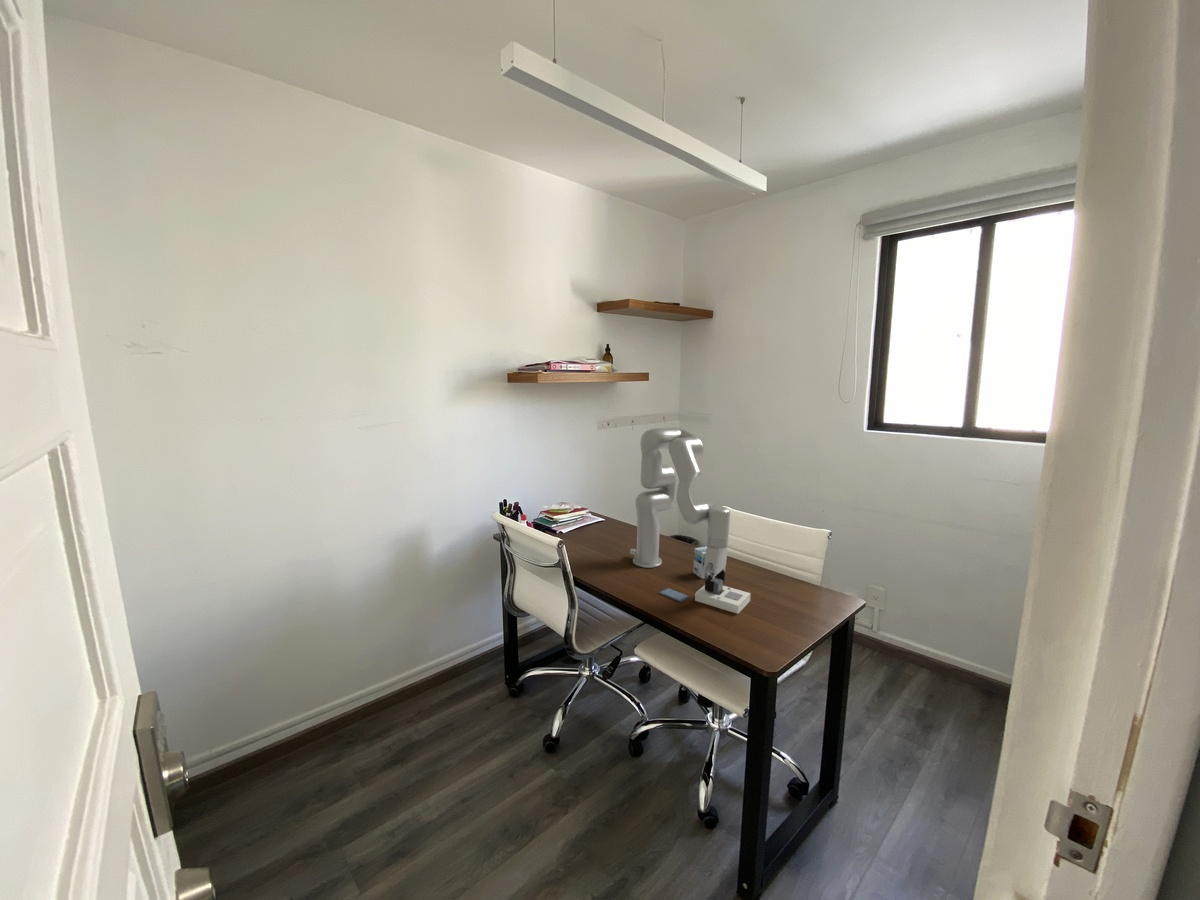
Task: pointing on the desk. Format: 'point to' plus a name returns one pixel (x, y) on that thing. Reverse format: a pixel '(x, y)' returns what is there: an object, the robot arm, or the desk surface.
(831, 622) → the desk surface
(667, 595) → the phone
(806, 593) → the desk surface
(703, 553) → the light bulb box
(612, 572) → the desk surface
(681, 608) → the desk surface
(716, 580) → the charger
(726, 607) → the outlet plate
